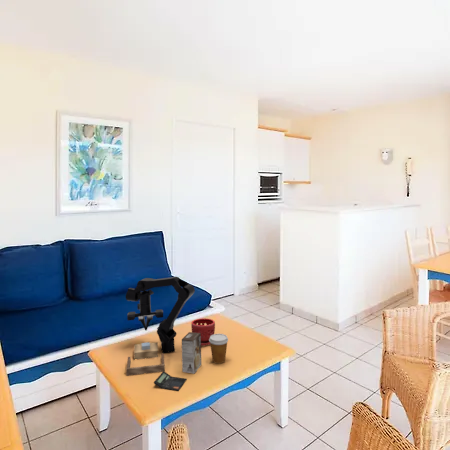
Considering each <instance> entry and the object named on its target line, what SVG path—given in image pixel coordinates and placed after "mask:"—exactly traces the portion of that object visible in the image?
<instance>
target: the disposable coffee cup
mask: <svg viewBox="0 0 450 450" xmlns="http://www.w3.org/2000/svg"><path fill="white" fill-rule="evenodd" d="M209 341H210V344H209V345H210V351H211V357H212V362H213V363H214V364H223V363H225V362H226V356H227V347H228V342H229V338H228V336H227V334H224V333H214V334H213V335H211V336H210V339H209Z"/></svg>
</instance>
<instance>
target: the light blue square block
mask: <svg viewBox="0 0 450 450" xmlns="http://www.w3.org/2000/svg"><path fill="white" fill-rule="evenodd" d="M150 343H151V342H150V341H148V342H141V344H142V350H147V349H150Z"/></svg>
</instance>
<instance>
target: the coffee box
mask: <svg viewBox="0 0 450 450" xmlns="http://www.w3.org/2000/svg"><path fill="white" fill-rule="evenodd" d="M181 362H182V365H181V366H182V367H181V369H182V371H181V372H183V373H189V374H196V372H197V371H199V368H200V367H201V366H202V346H201V333H194V332H192V331H191V332H190V331H189V332H187V333H186V335H185V336H183V337H182V338H181Z"/></svg>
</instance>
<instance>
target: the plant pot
mask: <svg viewBox="0 0 450 450" xmlns="http://www.w3.org/2000/svg"><path fill="white" fill-rule="evenodd" d="M190 325H191V332H194V333H201V347H204V346H205V347H206V346H209V345H210V341H209V339H210V336H211V335H213V334H215V331H216V322H215V320H214V319H211V318H206V317H205V318H204V317H203V318H197V319H194V320H192V321H191V323H190Z"/></svg>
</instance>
